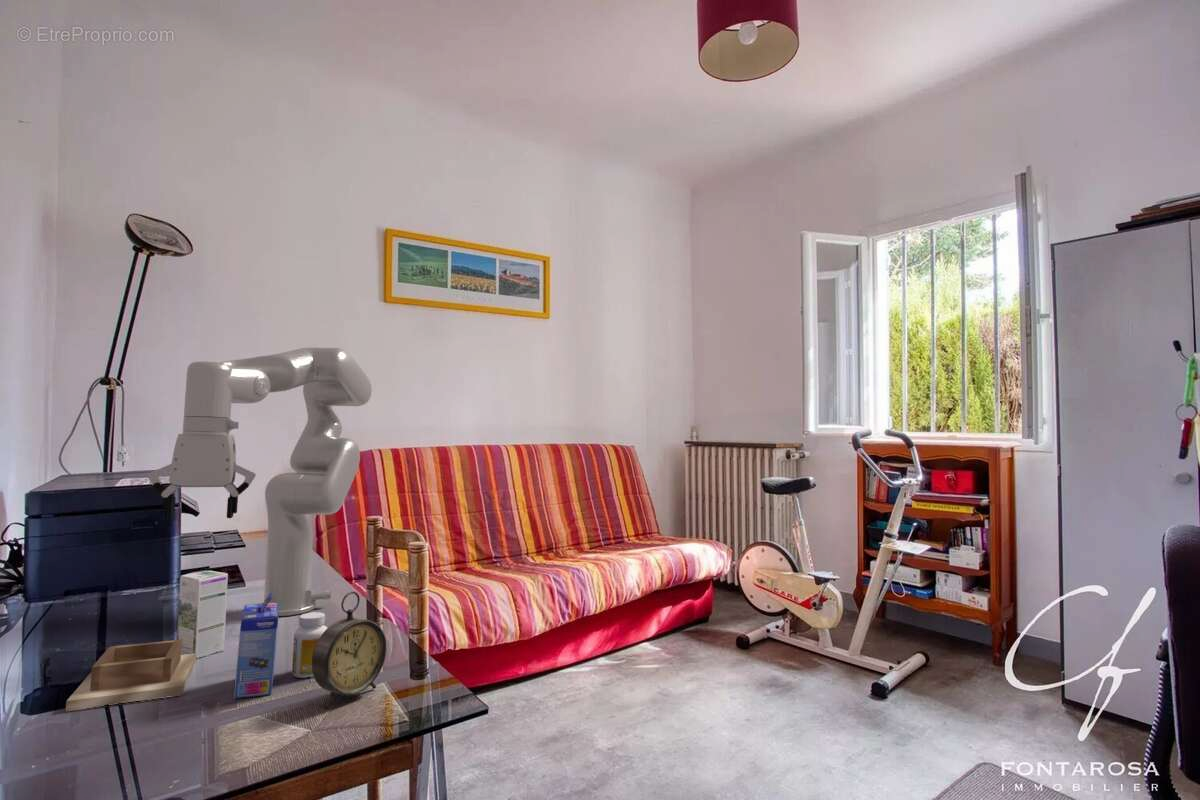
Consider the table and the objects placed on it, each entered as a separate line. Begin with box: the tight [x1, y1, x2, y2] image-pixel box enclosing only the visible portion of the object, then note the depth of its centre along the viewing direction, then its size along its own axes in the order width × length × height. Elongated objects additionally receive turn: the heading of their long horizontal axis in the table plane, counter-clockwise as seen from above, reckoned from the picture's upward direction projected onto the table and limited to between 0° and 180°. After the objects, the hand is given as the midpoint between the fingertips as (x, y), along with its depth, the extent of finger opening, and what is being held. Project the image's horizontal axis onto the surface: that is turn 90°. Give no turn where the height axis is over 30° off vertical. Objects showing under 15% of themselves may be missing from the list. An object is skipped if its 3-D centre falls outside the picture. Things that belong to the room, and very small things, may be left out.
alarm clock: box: [312, 591, 387, 709], centre depth 97 cm, size 11×5×16 cm, turn 148°
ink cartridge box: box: [233, 592, 279, 699], centre depth 100 cm, size 10×6×14 cm, turn 28°
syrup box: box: [176, 570, 229, 659], centre depth 115 cm, size 6×6×14 cm
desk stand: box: [65, 639, 197, 712], centre depth 100 cm, size 14×16×5 cm
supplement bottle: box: [291, 611, 328, 679], centre depth 106 cm, size 5×5×10 cm
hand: (200, 518), depth 116 cm, fingers open, 9 cm apart
